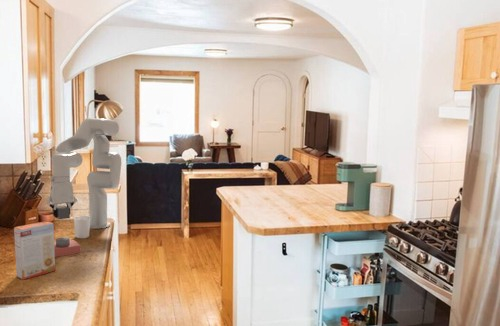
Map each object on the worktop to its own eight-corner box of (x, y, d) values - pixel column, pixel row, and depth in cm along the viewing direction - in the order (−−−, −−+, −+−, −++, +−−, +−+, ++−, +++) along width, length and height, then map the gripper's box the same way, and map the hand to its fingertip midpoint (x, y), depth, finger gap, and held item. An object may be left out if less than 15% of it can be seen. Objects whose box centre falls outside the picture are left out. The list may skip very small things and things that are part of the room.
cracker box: (48, 267, 205) (47, 220, 202) (55, 271, 201) (54, 222, 198) (15, 276, 194) (13, 226, 191) (22, 280, 190) (20, 229, 188)
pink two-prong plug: (39, 247, 230) (39, 234, 229) (69, 243, 239) (69, 230, 238) (49, 257, 217) (49, 243, 216) (80, 252, 226) (80, 239, 225)
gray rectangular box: (54, 216, 233) (54, 206, 232) (64, 215, 236) (64, 205, 235) (59, 219, 228) (58, 209, 227) (69, 218, 231) (69, 207, 230)
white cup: (80, 239, 245) (79, 220, 244) (71, 236, 250) (70, 218, 248) (93, 236, 251) (93, 217, 250) (84, 233, 256) (84, 215, 255)
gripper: (45, 181, 221) (45, 220, 224) (81, 179, 232) (82, 216, 234) (40, 179, 227) (41, 217, 229) (76, 177, 238) (76, 213, 240)
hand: (61, 216), depth 232 cm, fingers closed on gray rectangular box, 5 cm apart
